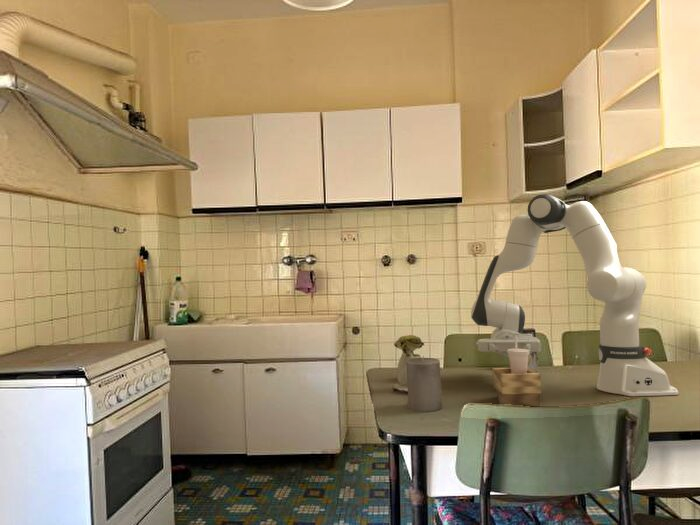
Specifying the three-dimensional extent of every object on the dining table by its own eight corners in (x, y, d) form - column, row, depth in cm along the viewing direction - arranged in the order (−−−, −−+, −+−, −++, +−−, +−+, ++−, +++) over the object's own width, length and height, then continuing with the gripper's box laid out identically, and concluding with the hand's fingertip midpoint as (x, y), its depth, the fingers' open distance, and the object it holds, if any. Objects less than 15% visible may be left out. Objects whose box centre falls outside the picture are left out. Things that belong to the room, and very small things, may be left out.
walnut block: (534, 398, 158) (534, 385, 158) (540, 408, 147) (540, 394, 147) (497, 398, 160) (496, 385, 160) (500, 407, 149) (500, 393, 150)
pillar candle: (423, 401, 157) (421, 352, 157) (449, 407, 149) (446, 355, 149) (401, 408, 150) (398, 356, 150) (426, 414, 143) (424, 360, 143)
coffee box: (535, 368, 204) (534, 327, 204) (537, 371, 198) (536, 329, 198) (511, 368, 206) (510, 328, 206) (512, 371, 200) (511, 329, 200)
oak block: (528, 385, 159) (528, 367, 159) (541, 393, 148) (540, 374, 148) (492, 385, 160) (492, 368, 160) (502, 394, 149) (502, 375, 149)
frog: (412, 396, 163) (410, 338, 164) (385, 390, 174) (384, 335, 174) (438, 391, 170) (436, 335, 171) (411, 385, 181) (409, 332, 181)
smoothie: (506, 380, 158) (505, 334, 158) (529, 380, 157) (527, 334, 157) (509, 384, 152) (507, 336, 152) (532, 385, 150) (530, 336, 151)
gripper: (475, 333, 181) (477, 339, 168) (536, 333, 178) (543, 338, 164) (475, 351, 181) (478, 358, 168) (536, 352, 177) (544, 358, 164)
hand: (511, 348), depth 166 cm, fingers open, 8 cm apart
